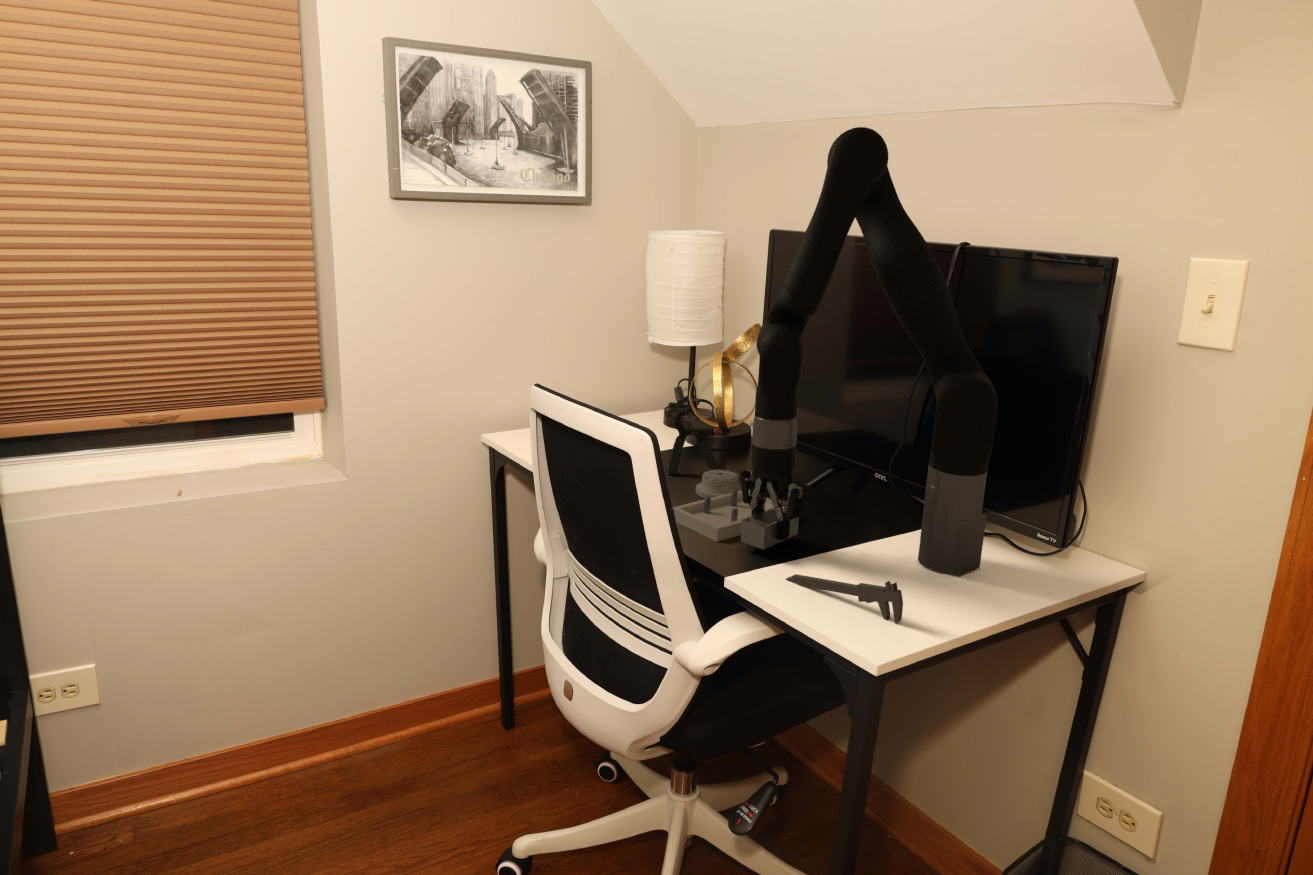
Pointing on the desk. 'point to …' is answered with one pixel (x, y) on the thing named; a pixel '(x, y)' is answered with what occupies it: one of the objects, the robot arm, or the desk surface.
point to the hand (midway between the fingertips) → (769, 533)
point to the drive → (764, 529)
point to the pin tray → (717, 515)
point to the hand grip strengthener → (701, 441)
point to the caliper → (859, 593)
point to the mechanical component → (717, 483)
